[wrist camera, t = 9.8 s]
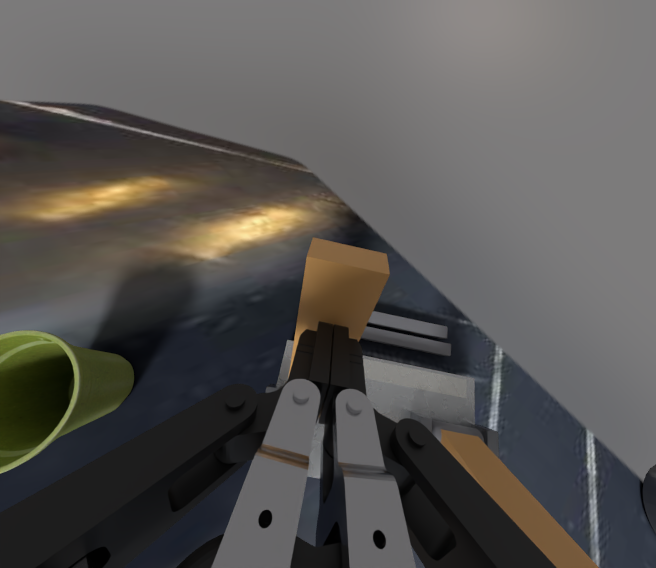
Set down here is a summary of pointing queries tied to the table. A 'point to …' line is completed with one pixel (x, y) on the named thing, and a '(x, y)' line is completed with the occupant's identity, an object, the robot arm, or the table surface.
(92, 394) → the plant pot
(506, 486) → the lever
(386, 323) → the stepped grey slab
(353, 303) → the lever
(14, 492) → the table surface
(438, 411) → the breaker box
